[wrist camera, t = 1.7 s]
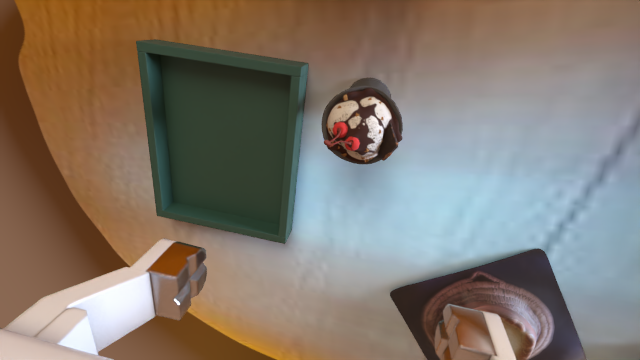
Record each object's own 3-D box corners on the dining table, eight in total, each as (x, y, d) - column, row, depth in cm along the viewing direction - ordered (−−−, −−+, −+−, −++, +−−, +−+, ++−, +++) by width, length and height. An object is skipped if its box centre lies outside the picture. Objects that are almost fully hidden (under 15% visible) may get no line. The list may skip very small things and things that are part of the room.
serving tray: (155, 39, 38) (135, 40, 35) (308, 63, 36) (301, 67, 33) (170, 203, 48) (156, 215, 45) (291, 229, 46) (285, 243, 43)
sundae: (326, 89, 37) (291, 128, 23) (382, 57, 34) (378, 81, 21) (354, 140, 39) (335, 202, 25) (409, 113, 36) (420, 168, 23)
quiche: (586, 361, 46) (603, 389, 42) (442, 383, 53) (445, 409, 50) (543, 245, 40) (558, 267, 36) (386, 289, 47) (386, 310, 44)
